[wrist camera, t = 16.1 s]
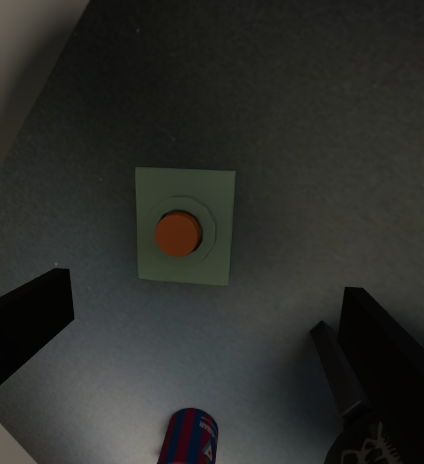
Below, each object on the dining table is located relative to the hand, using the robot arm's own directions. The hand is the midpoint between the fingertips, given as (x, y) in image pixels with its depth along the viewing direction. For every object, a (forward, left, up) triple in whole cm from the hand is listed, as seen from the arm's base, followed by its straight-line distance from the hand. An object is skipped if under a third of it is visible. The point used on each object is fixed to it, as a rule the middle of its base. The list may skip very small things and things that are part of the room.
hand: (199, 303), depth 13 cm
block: (0, -4, -17) cm, 18 cm away
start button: (0, -4, -14) cm, 14 cm away
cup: (+29, -4, -18) cm, 34 cm away
